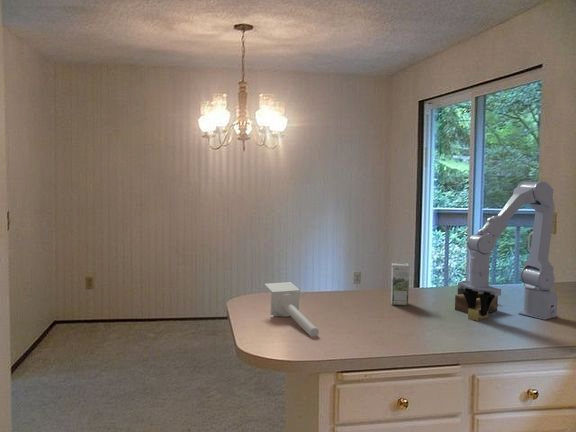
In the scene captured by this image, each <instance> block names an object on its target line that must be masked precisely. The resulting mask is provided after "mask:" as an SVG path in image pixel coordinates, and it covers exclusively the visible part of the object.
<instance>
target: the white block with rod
mask: <svg viewBox="0 0 576 432" xmlns="http://www.w3.org/2000/svg"><path fill="white" fill-rule="evenodd" d="M263 286H264V287H266V289H267V290H269V292H270V310H269V311H270V313H269V314H270V316H280V317H291V318H292V319H293V320H294V321H295V322H296V323H297V324H298V325H299V327H301V328H302V329H303V330H304V331H305V333H307V335H308V336H309V337H310V338H315V337H318V336H319V333H320V331H319V329H318V328H317V327H316V326H315V325H314V324H313V323H312V322H311V321H310V320H309V319H308V318H307V317H306V316H305V315H304V314H303V313H302V312H301V311H300V298H301V297H300V295H301V290H300V289H299V288H298V287H297V286H296V285H295V284H293V283H292V282H291V281H289V282H287V281H286V282H272V283H271V282H270V283H264V285H263Z"/></svg>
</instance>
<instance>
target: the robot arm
mask: <svg viewBox="0 0 576 432" xmlns="http://www.w3.org/2000/svg"><path fill="white" fill-rule="evenodd" d="M524 205H530V207H532V209H533V210H534V212H535V213H534V221H533V229H532V239H531V246H530V254H529V258H528V259H527V260H525V261H524V263H523V268H522V270H521V271H520V274H519V276H520V278H519V279H520V280H521V282H522V283H523V287H524V295H523V296H524V297H523V299H524V300H523V310H522V311H517V314H519V315H522V316H527V317H531V318H535V319H540V320H548V319H553V318H557V317H558V314H557V311H558V309H557V307H558V295H557V293H556V292H555V291H553V290H551V288H552V287H553V286H554V284H555V280H556V279H555V274H554V266H553V265H552V263H551V262H550V261H549V255H550V250H551V249H550V247H551V239H552V231H553V223H554V216H555V214H554V213H555V202H554V188H553V187H552V186H551V184H550V183H548V182H547V181H527V180H524V181H521V182H520V183H518V185H517V186H516V187H515V188H514V189H513V193H512V195H511V196H510V198H509V199H508V201H507V202H506V203H505V205H504V206H503V208H501V210H500V211H499V212H498V214H497V215H492V216H491V217H488V218H487V219H486V222H485V224H484V225H483V226H482V227H481V229H480V228H479V229H478V231H477V233H475V234H472V235H471V236H470V238H469V239H468V242H466V245H467V246H466V247H467V248H468V250H469V255H470V261H469V262H470V267H469V270H470V271H469V281H470V283H467V282H461V281H459V282H458V283H457V289H458V288H460V289H461V288H463V289H465V291H463V295H464V296H465V298H466V301H467V304H468V308H472V307H475V306H476V299H477V294H478V292H482V293H483V294H479V297H480V302H481V316H486V315H487V312H488V309H489V306H490V304H491V302H492V300H493V299H494V297H495V296H498V297H499V296H502V289H501V288H497V287H495V286H491V285H489V284H490V283H489V281H490V261H491V260H490V259H491V258H490V257H491V252H492V251H493V250H494V249H495V244H496V241H497V239H499V237H501V235H502V234H503V232H504V231H505V230H506V229H507V228H508V227H507V226H508V225H507V222H509V220H510V219H511V218H512V217H513V216H514V215H515V214H516V213H517V212H518V211H519V210H520V208H522V207H523V206H524ZM482 290H483V291H482Z"/></svg>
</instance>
